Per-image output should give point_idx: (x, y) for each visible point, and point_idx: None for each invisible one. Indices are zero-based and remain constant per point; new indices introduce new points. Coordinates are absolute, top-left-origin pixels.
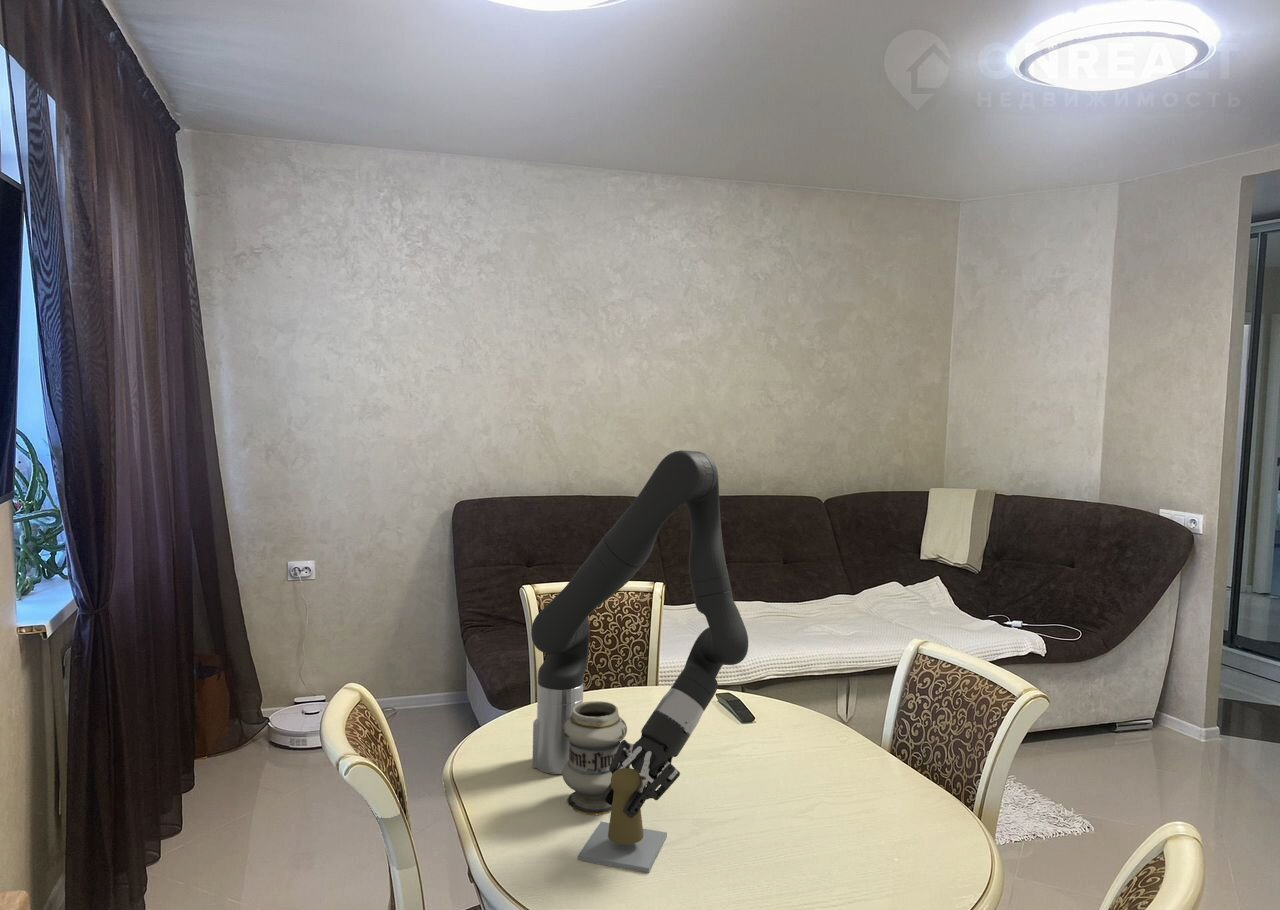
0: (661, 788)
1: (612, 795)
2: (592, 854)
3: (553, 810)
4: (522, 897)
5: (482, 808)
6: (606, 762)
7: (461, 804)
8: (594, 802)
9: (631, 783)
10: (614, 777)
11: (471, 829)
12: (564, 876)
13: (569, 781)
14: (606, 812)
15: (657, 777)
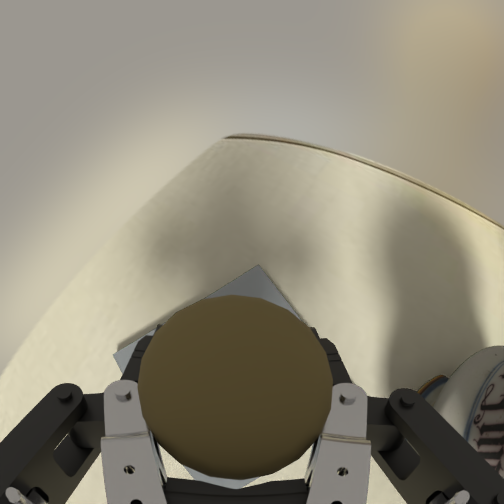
0: (65, 462)
1: None
2: (242, 293)
3: (453, 337)
4: (218, 145)
5: (482, 237)
6: (488, 445)
7: (493, 221)
8: None
9: (144, 353)
10: (251, 301)
11: (434, 191)
12: (224, 217)
13: (485, 348)
14: None
15: (31, 449)
